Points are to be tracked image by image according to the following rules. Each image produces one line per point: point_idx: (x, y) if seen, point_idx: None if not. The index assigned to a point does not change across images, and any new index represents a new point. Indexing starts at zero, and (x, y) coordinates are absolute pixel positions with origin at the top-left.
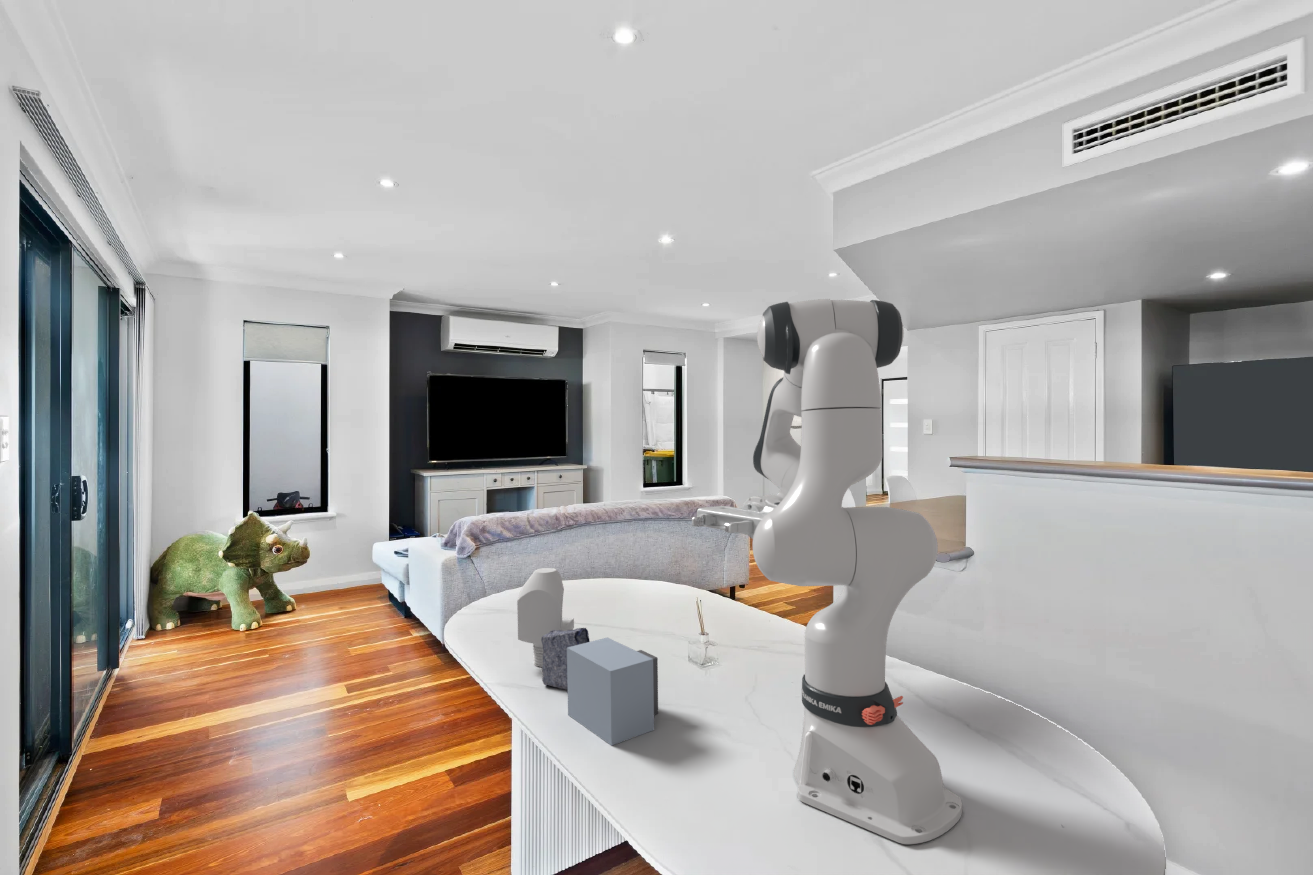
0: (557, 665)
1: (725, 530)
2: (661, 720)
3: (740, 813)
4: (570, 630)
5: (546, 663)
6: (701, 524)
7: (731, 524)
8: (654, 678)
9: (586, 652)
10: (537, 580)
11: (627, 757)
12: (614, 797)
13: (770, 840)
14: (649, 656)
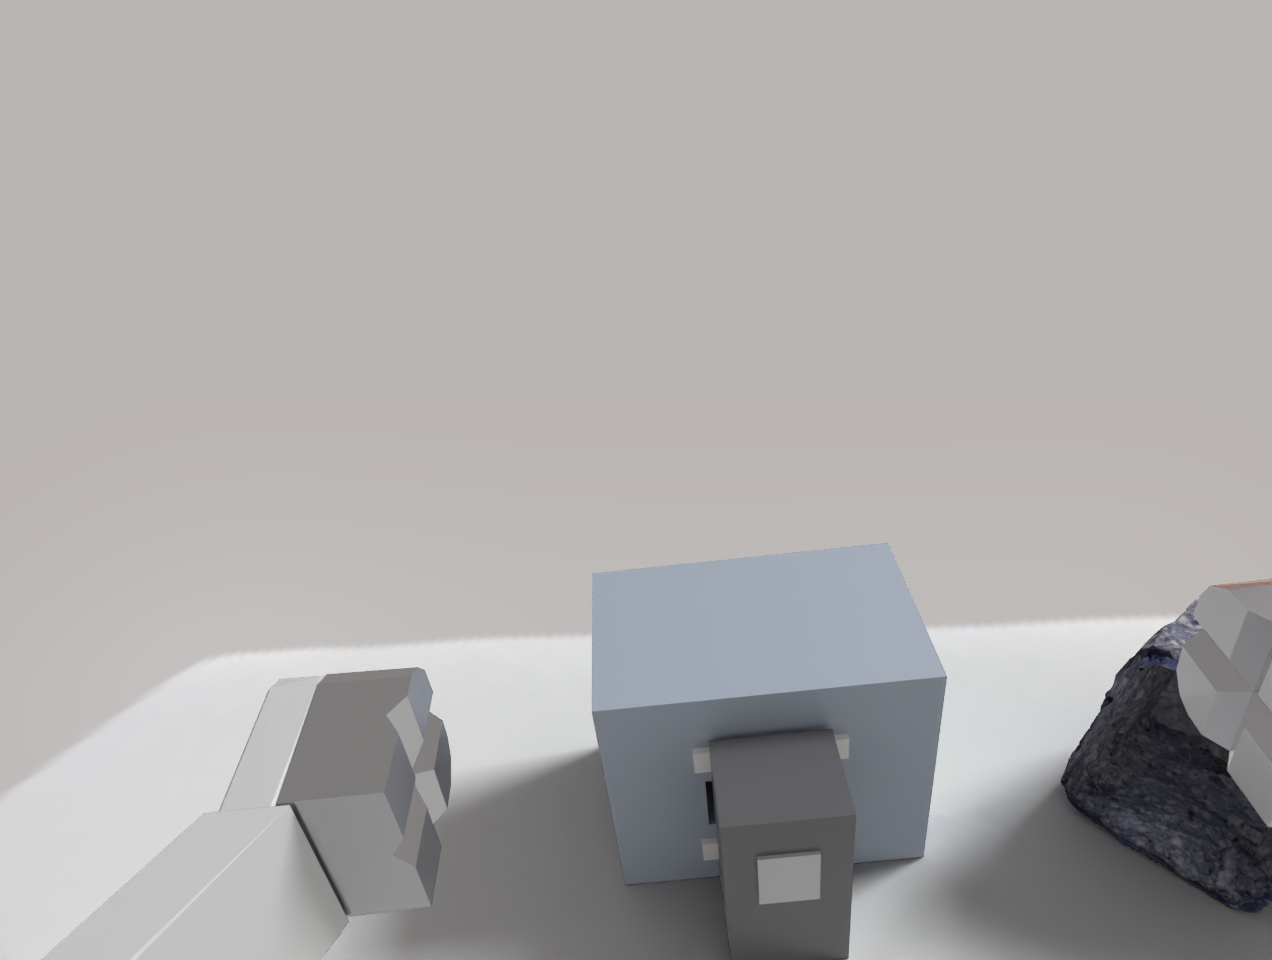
0: (1135, 692)
1: (442, 742)
2: (671, 947)
3: (138, 841)
4: None
5: (1170, 669)
6: (1241, 754)
7: (276, 690)
8: (722, 866)
9: (802, 572)
10: None
11: (538, 748)
12: (423, 664)
13: (32, 836)
14: (751, 805)
